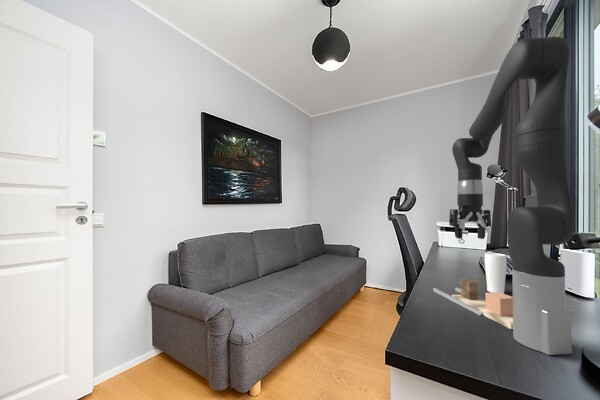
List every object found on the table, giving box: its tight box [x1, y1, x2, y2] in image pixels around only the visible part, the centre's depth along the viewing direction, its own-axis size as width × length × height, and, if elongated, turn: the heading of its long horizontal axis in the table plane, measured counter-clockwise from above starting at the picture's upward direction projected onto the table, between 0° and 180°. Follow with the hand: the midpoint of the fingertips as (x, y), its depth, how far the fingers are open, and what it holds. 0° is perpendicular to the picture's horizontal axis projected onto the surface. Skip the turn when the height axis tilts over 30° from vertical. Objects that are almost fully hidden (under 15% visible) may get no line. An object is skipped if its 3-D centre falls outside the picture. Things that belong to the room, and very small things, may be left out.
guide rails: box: [432, 287, 486, 316], centre depth 87 cm, size 22×10×1 cm, turn 6°
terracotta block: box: [485, 292, 513, 316], centre depth 74 cm, size 5×5×5 cm
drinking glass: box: [484, 252, 507, 294], centre depth 97 cm, size 7×7×15 cm
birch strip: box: [451, 278, 513, 330], centre depth 78 cm, size 22×8×8 cm, turn 6°
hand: (470, 238), depth 87 cm, fingers open, 8 cm apart
